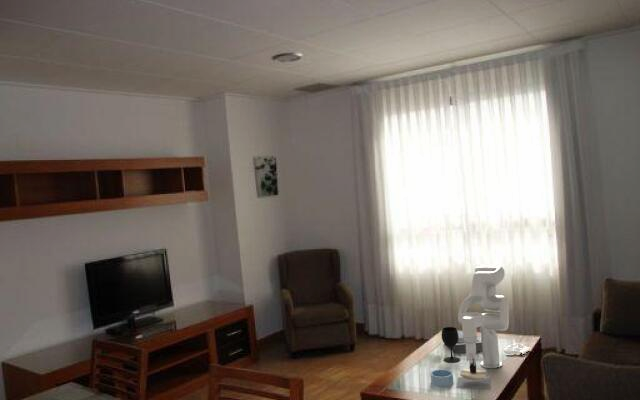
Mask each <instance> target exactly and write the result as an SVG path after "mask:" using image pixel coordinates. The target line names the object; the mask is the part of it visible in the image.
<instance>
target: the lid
mask: <svg viewBox="0 0 640 400" xmlns="http://www.w3.org/2000/svg"><path fill="white" fill-rule="evenodd" d="M475 365H476V366H477V362H475ZM487 374H488V373H487V371H486V370H485V369H484V368H480V367H476V373H471V372H470V367H466V368H463V369H461V371H460V377H463V378H466V379H471V380H477V379H482V378H487Z"/></svg>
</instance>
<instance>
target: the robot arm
mask: <svg viewBox="0 0 640 400" xmlns="http://www.w3.org/2000/svg"><path fill="white" fill-rule="evenodd" d="M504 278H505V269H504V268H503V266H499V265H480V266H479V265H478V266H476V267H475V268H474V273H473V275H472V280H471V281H472V282H471V287H470V292H469V295H468V296H466V297H465V298H464V300H463V301H462V302H461V303H460V305H459V308H458V309H459V310H458V314H457V320H458V324H460V325H461V327H462V330H461V331H462V332H463V340H464V342H465V343H466V353H465V358H466V361H467V362H468V361H469V368H470V372H471V373H476V368H477V364H476V365H475V363H476V360H477V359H476V358H477V352H476V342H478V340H477V338H478V332H477V328H478V327H479V330H480V340H481V341H482V351H481V353H482V361H480V365H481V367H483V368H486V369H498V368H497V367H499V368H501V367H503V362H502V361H500V351H499V336H498V334H497V332H496V331H507V330H508V329H509V324H510V302H509V299H508V297H506V296H505V295H498V294H497V286H499V284H501V282H502V281H503V280H504ZM477 303H480V305H481V309H482V310H484V311H488V312H484V313H483V312H482V313H480V312H474V311H473V312H472V311H467V310H468V308H469V307H471V306H472V305H474V304H475V305H476V304H477ZM491 312H493V313H491ZM494 312H499V313H494ZM500 366H501V367H500Z"/></svg>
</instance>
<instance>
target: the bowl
mask: <svg viewBox="0 0 640 400" xmlns="http://www.w3.org/2000/svg"><path fill="white" fill-rule="evenodd" d="M430 382H431V384H430V385H431V386H434V387H438V388H447V387H451V386H452V385H454V374H453V372H452V370H449V369H441V368H440V369H439V368H438V369H434V370H431V371H430Z"/></svg>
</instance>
